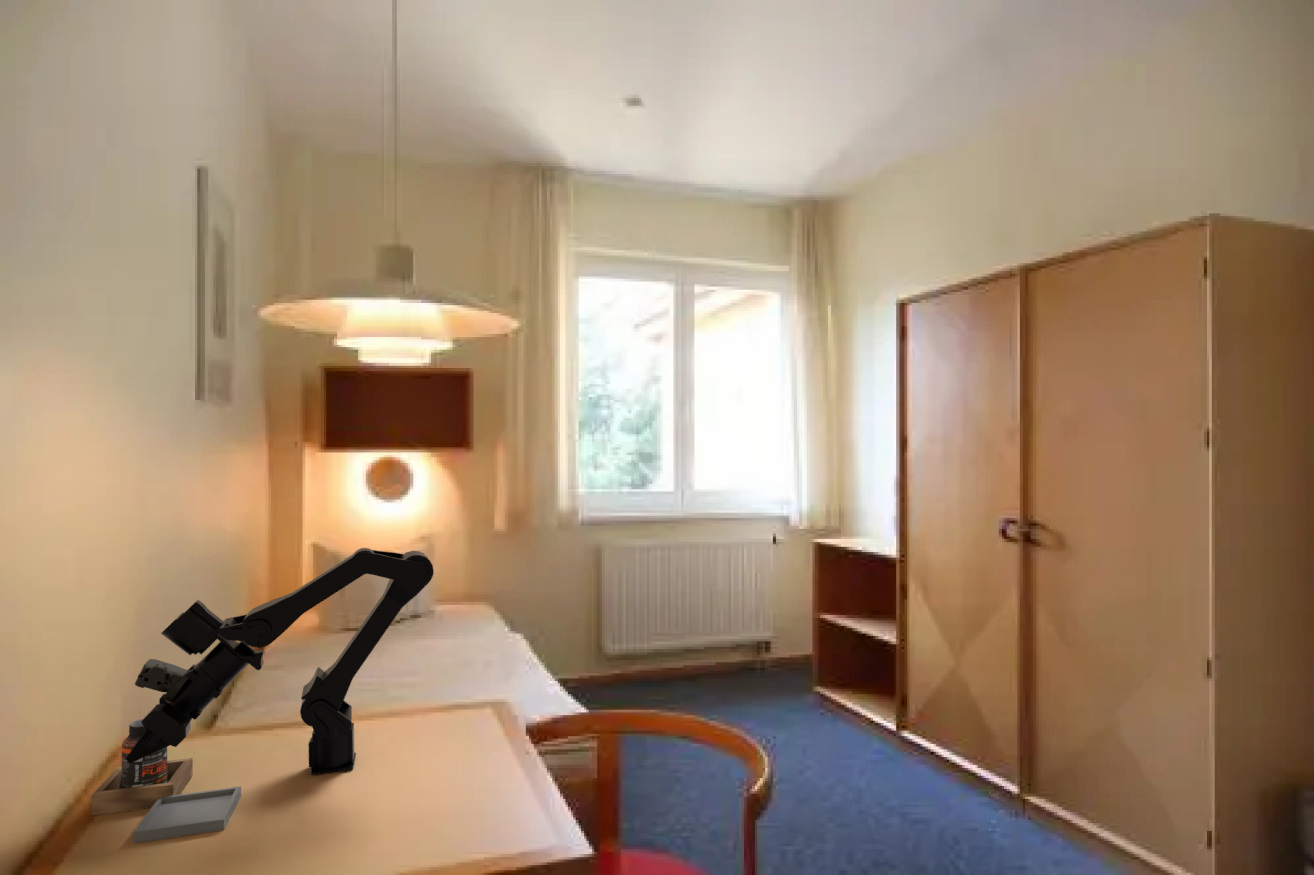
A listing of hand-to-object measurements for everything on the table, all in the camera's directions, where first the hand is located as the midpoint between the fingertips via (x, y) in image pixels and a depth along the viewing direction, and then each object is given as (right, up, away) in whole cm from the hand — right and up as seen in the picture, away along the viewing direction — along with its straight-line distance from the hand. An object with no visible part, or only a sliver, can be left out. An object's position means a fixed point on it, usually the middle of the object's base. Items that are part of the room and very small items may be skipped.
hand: (133, 753), depth 120 cm
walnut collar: (+1, -7, 0) cm, 7 cm away
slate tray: (+13, -6, -7) cm, 16 cm away
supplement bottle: (+1, -7, 0) cm, 7 cm away
